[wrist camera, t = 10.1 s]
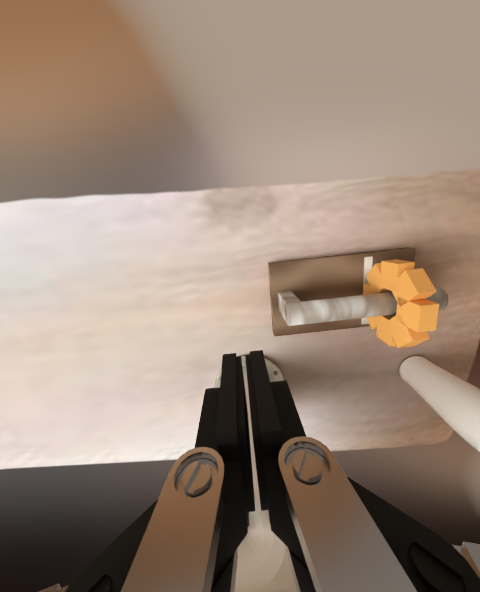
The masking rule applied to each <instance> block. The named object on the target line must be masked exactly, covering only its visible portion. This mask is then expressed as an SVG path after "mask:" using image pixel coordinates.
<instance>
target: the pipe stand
mask: <svg viewBox="0 0 480 592" xmlns="http://www.w3.org/2000/svg"><path fill="white" fill-rule="evenodd" d="M414 253H415V248H400V249H391V250H381V251H372V252H363V253H354V254H345V255H336V256H327V257H318V258H308V259H299V260H290V261H281V262H272V263H268V268H269V282H270V296H271V310H272V324H273V333H274V336H282V335H291V334H301V333H310V332H319V331H328V330H338V329H347V328H356V327H365V326H370V324H369V322H368V319H367V317H376V316H385V315H388V316H396V311H397V301H396V299H395V297H394V295H393V293H392V291H386V292H384V293H377V294H368V295H363V285H364V283H369V282H368V280H367V278H366V275H367V274H368V273H369V271H370V270H371V269H372V268H373V266H374V265H375V264H376V263H381V262H382V261H385V260H394V259H398V260H404V261H410V262H414ZM434 288H435V289H436V291H437V292H435V293H434V294H433V295H431V296H430V297H428V298H427V300H430V301H433V302H435V303H438V304H439V310H441V309H444V308H445V307H446V306H447V304H448V295H447V293H446V292H445V290H443V289H442V288H440V287H436V286H434Z"/></svg>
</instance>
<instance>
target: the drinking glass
mask: <svg viewBox="0 0 480 592" xmlns="http://www.w3.org/2000/svg"><path fill="white" fill-rule="evenodd" d="M399 373H400V376H401V377H402V379H403V380H404V381H406V382H407V383H408V384H409V385H410V386H411V387H412V388H413V389H414V390H415V391H416V392H417V393H418V394H419V395H420V396H421V397H422V398H423V399H424V400H425V401H426V402H427V403H428V404H429V405H430V406H431V407H432V408H433V409H434V411H435V412H436V413H437V414H438V415H439V416H440V417H441V418H442V419H443V420H444V421H445V422H446V423H447V424H448V425H449V426H450V427H451V428H452V429H453V430H454V431H455V432H456V433H457V434H459V435H460V436H461V437H462V438H463V439H464V440H465V441H467V442H468V443H469V444H470V445H471V446H472V447H474V448H475V449H476V450H477V451H478V452H480V389H479V388H477V387H475V386H473V385H472V384H470V383H468V382H466V381H464V380H462V379H460V378H459V377H457V376H455V375H453V374H451V373H450V372H448V371H446V370H444V369H442V368H440V367H439V366H437V365H435V364H433V363H432V362H430V361H429V360H427V359H426V358H424V357H421V356H412V357H409V358H407V359H406V360H404V361H403V362H402V364H401V366H400V369H399Z"/></svg>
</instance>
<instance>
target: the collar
mask: <svg viewBox="0 0 480 592" xmlns="http://www.w3.org/2000/svg"><path fill="white" fill-rule="evenodd" d="M414 265H415V262H410V261H404V260H398V259H394V260H385V261H382V262H381V263H376V264H375V265H374V266H373V268H372V269H371V270H370V271H369V273H368V274H367V275H366V278H367V280H368V282H369V283H364V285H363V295H368V294H377V293H384V292H386V291H392V293H393V295H394V297H395V299H396V301H397V311H396V316H388V315H385V316H376V317H367V319H368V322H369V324H370V327H371V329H377V335H376V336H377V337H378V338H379V339H381V340H382V341H383V342H385V343H386V344H388V345H389V346H390V347H394V346H397V348H402V347H412V346H415V345H417V344H420V343H422V342H424V341H426V340H428V339H430V337H429V335H428V333H427V331H435V330H436V325H437V318H438V311H439V304H438V303H435V302H433V301H430V300H427V298H428V297H430V296H431V295H433V294H434V293H435V292H437V291H436V289H435V288H434V286H433V284H432V283H431V281H430V279H429V278H428V276H427V274H426V273H425V271H424V269H423V268H420V269H414Z"/></svg>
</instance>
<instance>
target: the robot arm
mask: <svg viewBox="0 0 480 592" xmlns="http://www.w3.org/2000/svg"><path fill="white" fill-rule="evenodd" d="M40 592H480V545H479V544H474V543H468V542H463V544H462V547H460V546H455V545H451V544H450V543H448V542H447V541H446V540H444V539H443V538H442V537H441V536H439V535H438V534H436V533H435V532H433V531H432V530H430V529H428V528H427V527H425V526H424V525H422V524H421V523H419V522H417V521H416V520H414V519H412V518H411V517H410V516H408V515H406V514H405V513H403V512H402V511H400V510H399V509H397V508H395V507H394V506H392V505H391V504H389V503H388V502H386V501H384V500H383V499H381V498H380V497H378V496H376V495H375V494H373V493H372V492H370V491H369V490H367V489H366V488H364V487H362V486H361V485H359V484H358V483H356V482H355V481H353V480H351V479H350V478H348V477H347V476H346V475H345V473H344V472H343V470H342V468H341V467H340V465H339V464H338V462H337V460H336V459H335V457H334V455H333V454H332V453H331V451H330V450H329V449H328V448H327V447H326V446H325V445H324V444H323V443H321V442H320V441H318V440H316V439H313V438H310V437H306V435H305V432H304V429H303V426H302V423H301V421H300V418H299V415H298V412H297V409H296V406H295V404H294V401H293V398H292V395H291V392H290V389H289V387H288V384H287V381H286V380H284V378H283V375H282V373H281V371H280V369H279V368H278V367H277V366H276V365H275V364H274V363H273V362H272V361H270V360H268V359H266V358H264V355H263V351H262V350H261V351H251V352H250V355H247V356H237V357H236V353H233V354H224V355H223V360H222V369H221V370H220V372H219V373H218V375H217V378H216V383H215V388H209V389H206V390H205V395H204V400H203V406H202V411H201V417H200V422H199V428H198V433H197V439H196V444H195V448H194V449H192V450H189V451H187V452H186V453H184V454H183V455H182V456H180V458H179V459H178V460H177V461H176V462H175V463H174V465H173V467H172V468H171V470H170V472H169V475H168V477H167V480H166V482H165V485H164V487H163V489H162V492H161V494H160V497H159V499H158V500H157V501H156V502H154V503H153V504H152V505H151V506H150V507H149V508H148V509H147V510H146V511H145V512H144V513H143V514H142V515H141V516H140V517H139V518H138V519H137V520H136V521H135V522H133V523H132V524H131V525H130V526H129V527H128V528H127V529H126V530H125V531H124V532H123V533H122V534H121V535H120V536H119V537H118V538H116V539H115V540H114V541H113V542H112V543H111V544H110V545H109V546H108V547H107V548H106V549H105V550H104V551H103V552H102V553H101V554H100V555H99V556H98V557H97V558H95V559H94V560H93V561H92V562H91V563H90V564H89V565H88V566H87V567H86V568H85V569H84V570H83V571H82V572H81V573H80V574H79V575H78V576H77V577H76V578H75V579H74V581H73V582H72V583H71V584H70V585H69V586H66V587H64V588H61V587H60V585H59V584H57V585H54V586H52V587H49V588H47V589H45V590H42V591H40Z"/></svg>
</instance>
